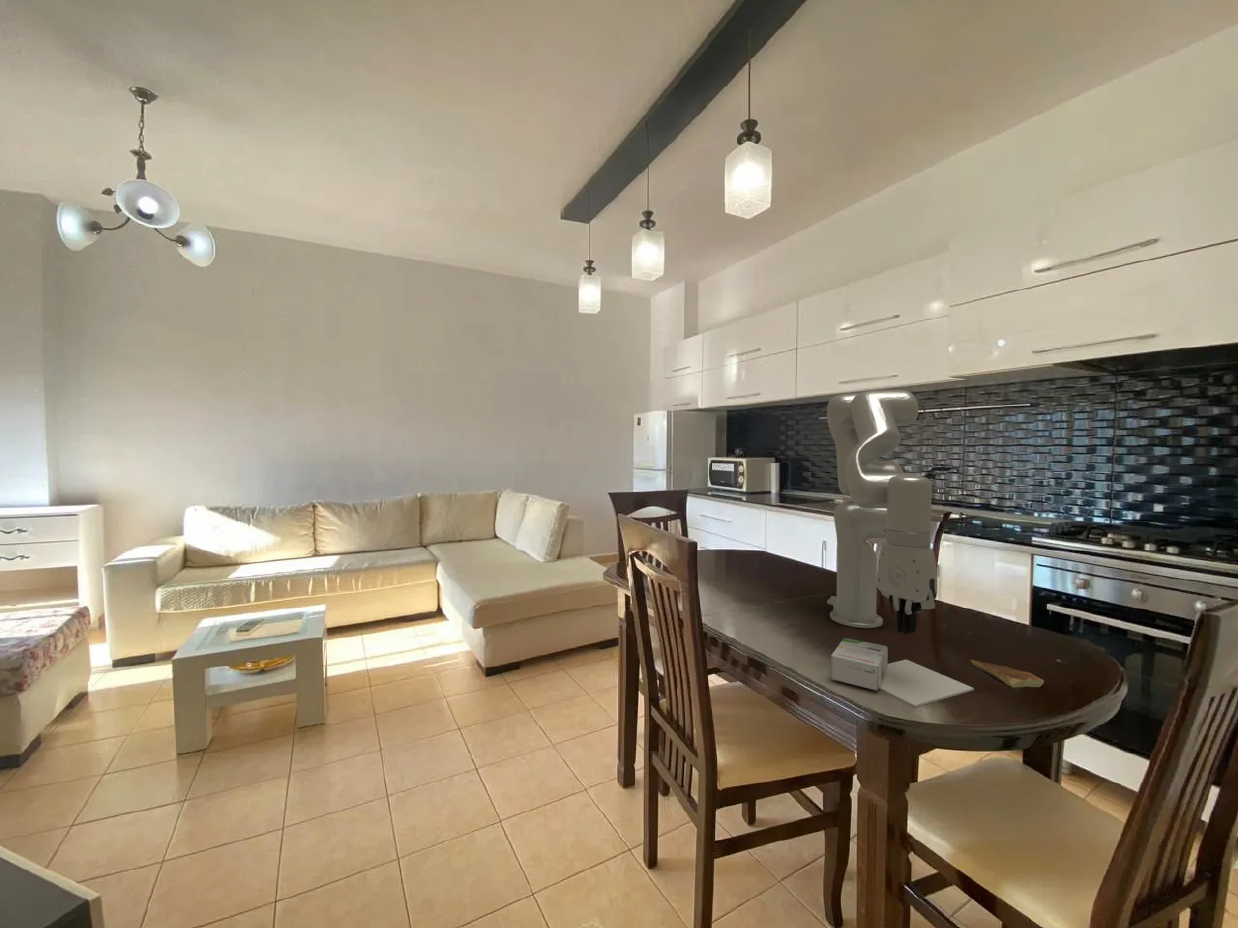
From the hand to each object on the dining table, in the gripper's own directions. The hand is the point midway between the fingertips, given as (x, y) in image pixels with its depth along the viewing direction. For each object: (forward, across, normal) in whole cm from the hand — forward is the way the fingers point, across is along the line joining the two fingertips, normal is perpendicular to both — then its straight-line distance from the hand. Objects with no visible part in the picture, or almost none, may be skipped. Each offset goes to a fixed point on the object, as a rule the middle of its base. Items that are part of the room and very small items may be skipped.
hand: (906, 631), depth 100 cm
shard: (+10, +7, +19) cm, 23 cm away
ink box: (+7, -8, -2) cm, 11 cm away
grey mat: (+10, +1, 0) cm, 10 cm away
